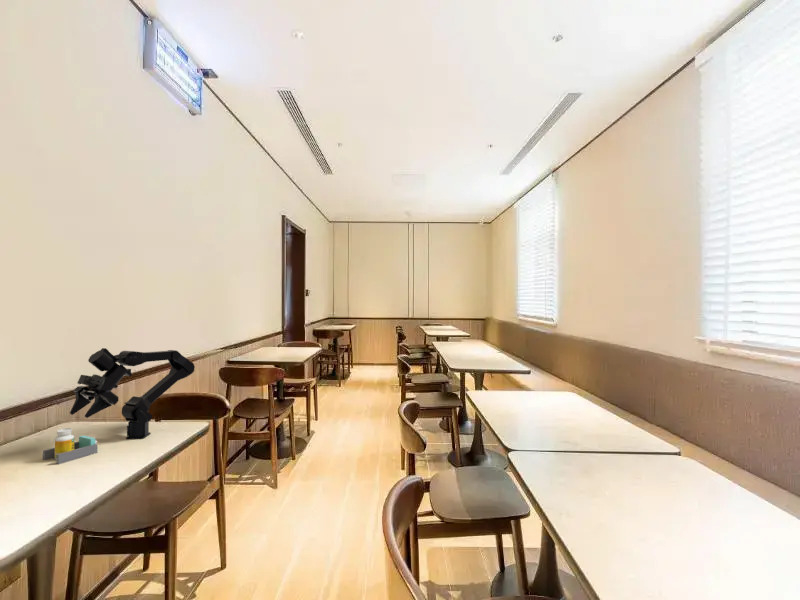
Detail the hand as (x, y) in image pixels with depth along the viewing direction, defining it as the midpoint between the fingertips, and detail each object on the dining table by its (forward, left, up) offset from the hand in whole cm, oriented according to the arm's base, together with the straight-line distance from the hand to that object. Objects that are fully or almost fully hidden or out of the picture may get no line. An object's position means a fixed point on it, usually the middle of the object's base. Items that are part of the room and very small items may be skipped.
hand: (78, 415), depth 154 cm
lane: (+1, +1, -13) cm, 13 cm away
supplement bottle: (+2, +4, -14) cm, 14 cm away
